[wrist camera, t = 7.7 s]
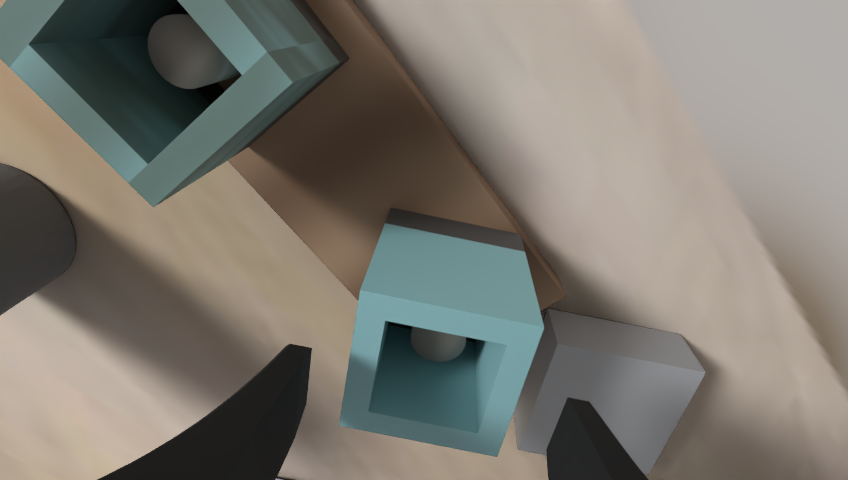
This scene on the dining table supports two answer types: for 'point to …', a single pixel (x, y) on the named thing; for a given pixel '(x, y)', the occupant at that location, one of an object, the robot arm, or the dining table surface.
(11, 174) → the bottle
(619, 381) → the block
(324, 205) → the peg board
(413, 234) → the sleeve
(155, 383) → the dining table surface
